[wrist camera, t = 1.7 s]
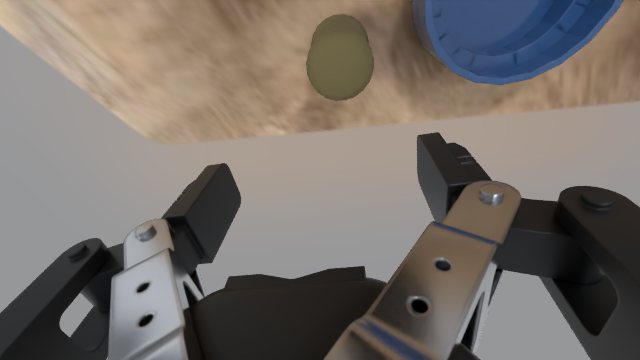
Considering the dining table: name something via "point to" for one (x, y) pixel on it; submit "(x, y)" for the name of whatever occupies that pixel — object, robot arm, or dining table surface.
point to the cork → (340, 58)
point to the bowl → (507, 34)
